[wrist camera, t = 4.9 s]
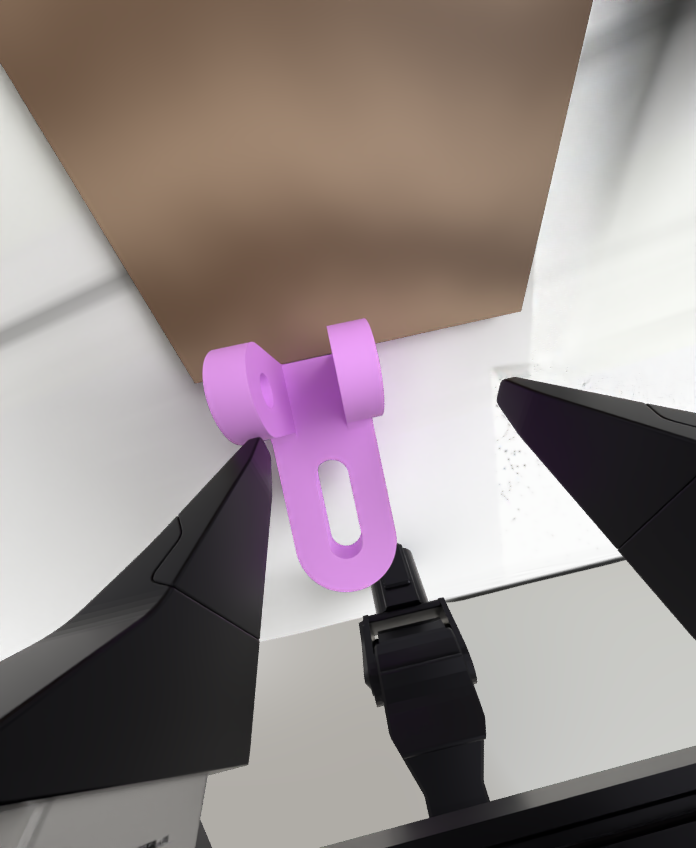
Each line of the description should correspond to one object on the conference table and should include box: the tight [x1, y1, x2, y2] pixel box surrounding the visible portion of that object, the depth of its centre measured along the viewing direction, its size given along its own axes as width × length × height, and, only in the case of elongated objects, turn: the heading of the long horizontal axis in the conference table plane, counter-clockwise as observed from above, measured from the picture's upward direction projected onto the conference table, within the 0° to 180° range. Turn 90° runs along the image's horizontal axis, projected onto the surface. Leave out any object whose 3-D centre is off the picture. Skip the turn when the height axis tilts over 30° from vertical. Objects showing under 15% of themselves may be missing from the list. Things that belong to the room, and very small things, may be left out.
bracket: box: [202, 318, 397, 592], centre depth 11 cm, size 13×6×7 cm
